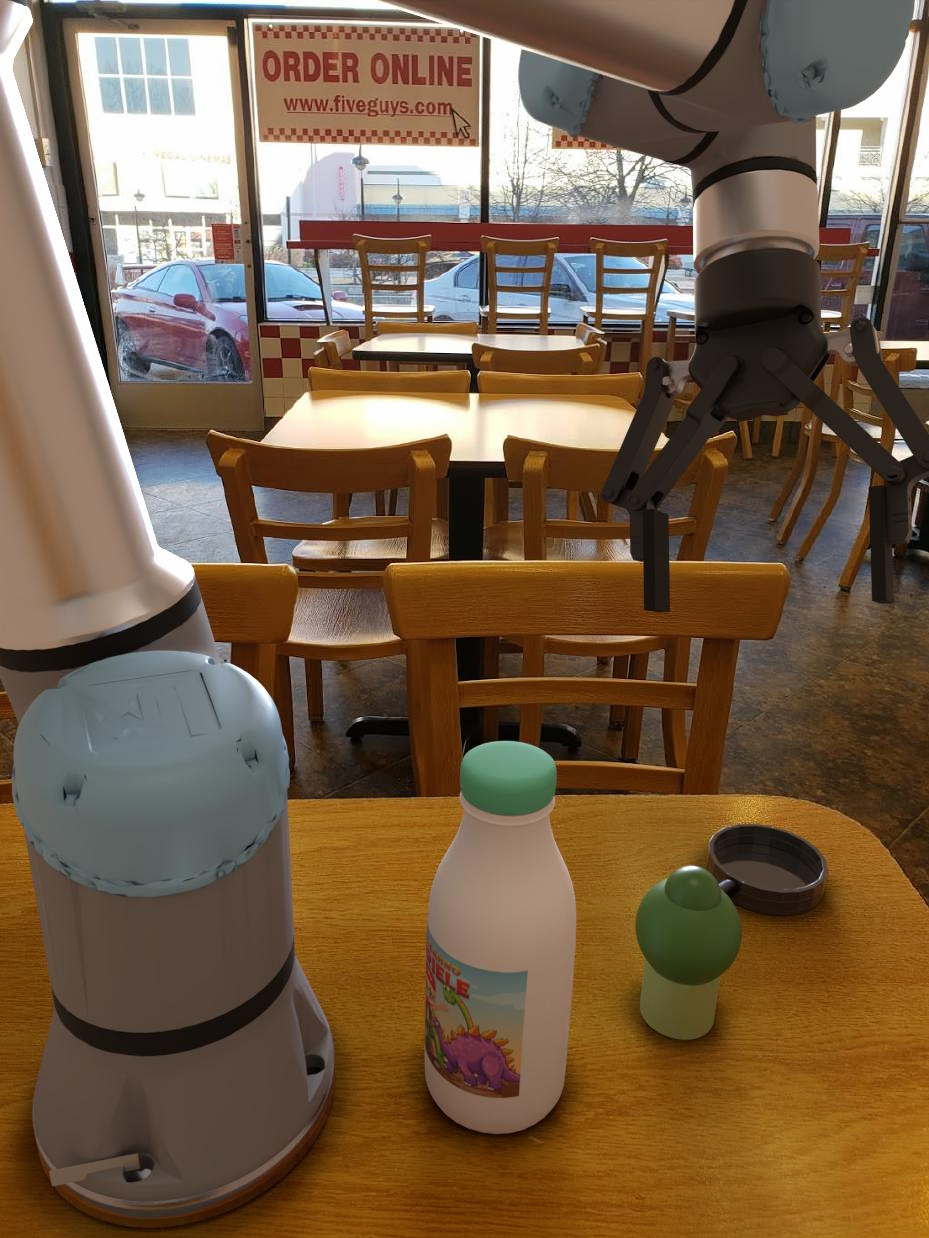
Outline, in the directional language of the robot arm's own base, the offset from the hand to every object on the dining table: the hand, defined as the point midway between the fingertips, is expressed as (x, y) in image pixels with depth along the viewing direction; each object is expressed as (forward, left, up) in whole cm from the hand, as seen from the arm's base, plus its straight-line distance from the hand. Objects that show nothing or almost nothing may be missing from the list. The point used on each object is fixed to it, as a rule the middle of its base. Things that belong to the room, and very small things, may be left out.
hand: (763, 607), depth 58 cm
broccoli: (+4, -10, -23) cm, 25 cm away
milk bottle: (+1, -22, -23) cm, 32 cm away
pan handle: (0, -2, -23) cm, 23 cm away
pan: (0, +6, -23) cm, 23 cm away
